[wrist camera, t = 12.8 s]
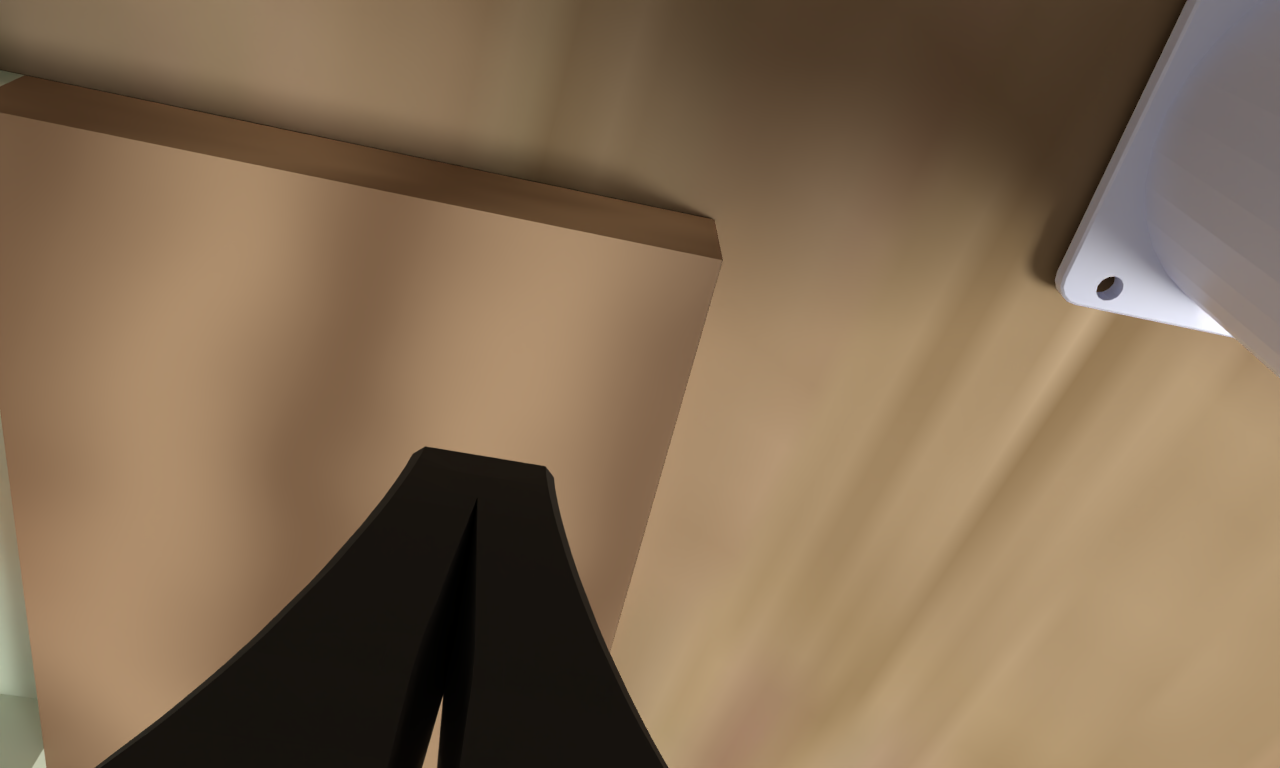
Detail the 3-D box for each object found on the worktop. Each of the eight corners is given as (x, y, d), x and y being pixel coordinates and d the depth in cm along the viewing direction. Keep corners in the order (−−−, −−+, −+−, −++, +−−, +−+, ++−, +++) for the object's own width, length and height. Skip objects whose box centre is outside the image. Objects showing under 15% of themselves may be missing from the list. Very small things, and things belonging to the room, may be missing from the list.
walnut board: (714, 219, 19) (722, 260, 18) (561, 771, 28) (557, 835, 26) (24, 75, 18) (-40, 104, 16) (84, 706, 26) (46, 769, 25)
